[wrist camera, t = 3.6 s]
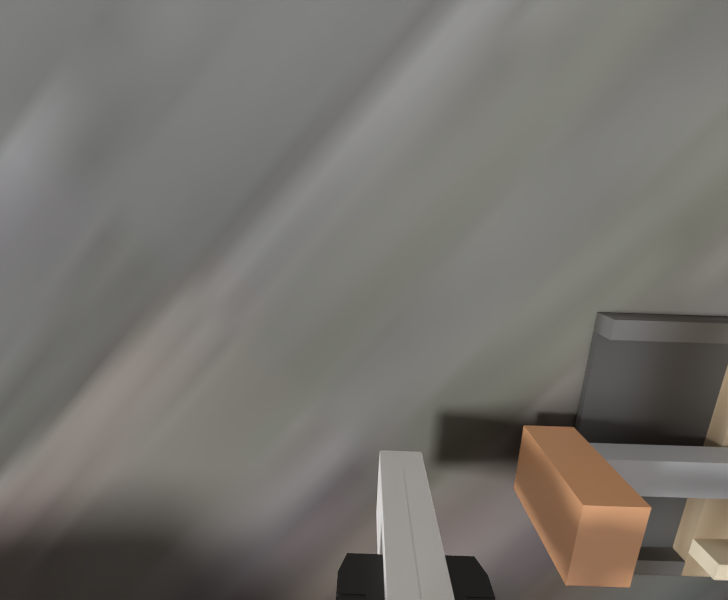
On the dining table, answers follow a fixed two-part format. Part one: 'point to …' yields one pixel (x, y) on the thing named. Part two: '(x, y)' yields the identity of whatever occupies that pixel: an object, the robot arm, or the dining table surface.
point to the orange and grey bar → (605, 496)
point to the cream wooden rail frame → (664, 422)
